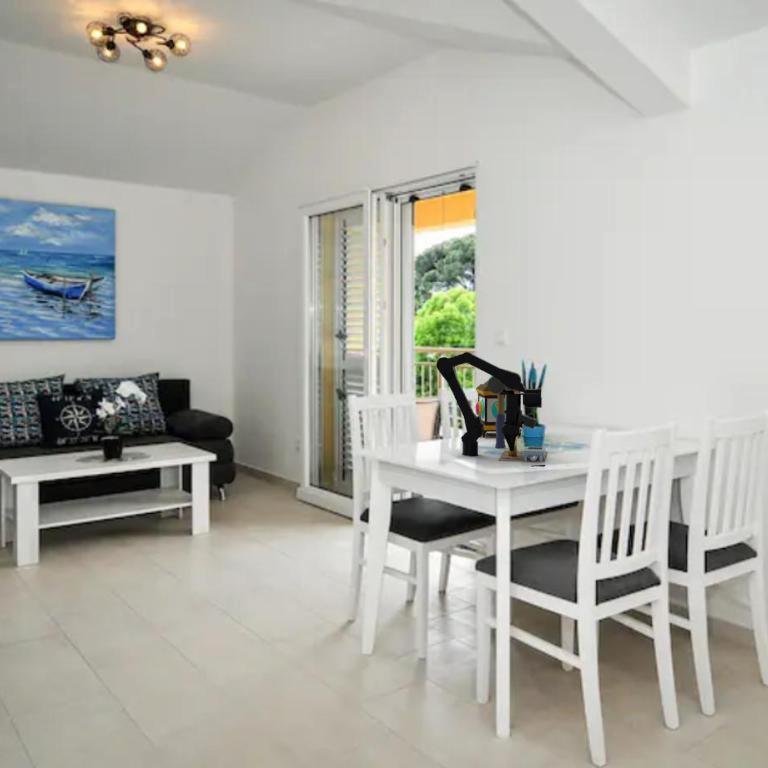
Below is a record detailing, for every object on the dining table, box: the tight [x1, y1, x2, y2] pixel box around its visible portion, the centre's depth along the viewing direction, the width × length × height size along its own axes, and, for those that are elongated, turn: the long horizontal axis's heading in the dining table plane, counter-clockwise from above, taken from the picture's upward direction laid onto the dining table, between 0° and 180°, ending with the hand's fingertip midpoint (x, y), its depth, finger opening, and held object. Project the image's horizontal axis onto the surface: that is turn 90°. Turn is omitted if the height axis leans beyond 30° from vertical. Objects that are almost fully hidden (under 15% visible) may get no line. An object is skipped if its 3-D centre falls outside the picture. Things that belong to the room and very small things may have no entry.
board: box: [497, 449, 548, 467], centre depth 279 cm, size 24×16×2 cm, turn 166°
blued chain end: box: [523, 446, 546, 463], centre depth 274 cm, size 15×7×3 cm, turn 166°
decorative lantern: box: [474, 374, 522, 439], centre depth 345 cm, size 20×20×30 cm
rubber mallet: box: [487, 376, 511, 449], centre depth 298 cm, size 12×8×30 cm, turn 152°
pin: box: [507, 436, 518, 456], centre depth 280 cm, size 5×5×9 cm
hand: (512, 450), depth 280 cm, fingers open, 5 cm apart
